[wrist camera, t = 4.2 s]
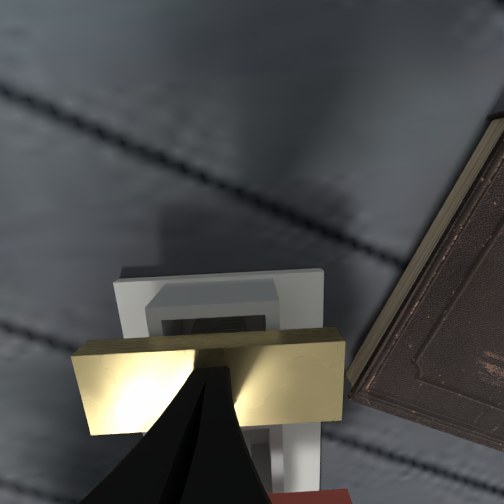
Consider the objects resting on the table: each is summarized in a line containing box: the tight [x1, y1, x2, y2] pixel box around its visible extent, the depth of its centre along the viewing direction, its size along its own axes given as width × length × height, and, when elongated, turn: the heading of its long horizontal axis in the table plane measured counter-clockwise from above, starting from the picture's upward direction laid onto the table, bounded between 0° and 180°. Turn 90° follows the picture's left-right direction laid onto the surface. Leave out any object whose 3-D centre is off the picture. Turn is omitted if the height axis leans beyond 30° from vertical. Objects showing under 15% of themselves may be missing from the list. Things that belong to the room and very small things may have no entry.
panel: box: [113, 268, 324, 494], centre depth 14 cm, size 18×11×3 cm, turn 3°
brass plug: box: [71, 316, 345, 435], centre depth 12 cm, size 4×10×4 cm, turn 93°
